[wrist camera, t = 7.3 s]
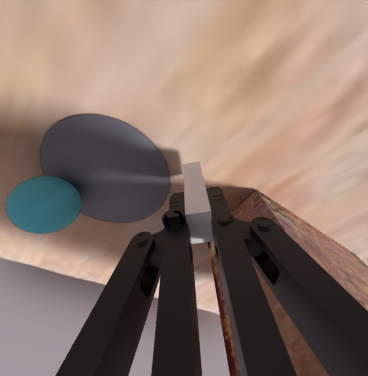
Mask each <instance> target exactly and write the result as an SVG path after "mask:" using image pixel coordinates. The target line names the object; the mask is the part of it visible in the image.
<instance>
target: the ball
mask: <svg viewBox="0 0 368 376" xmlns="http://www.w3.org/2000/svg"><path fill="white" fill-rule="evenodd" d="M80 209H81V197H80V194H79V192H78V191H77V189H76V188H75V187H74V186H73V185H72V184H71V183H69V182H68V181H66V180H64V179H61V178H58V177H53V176H40V177H35V178H31V179H28V180H26V181H24V182H22V183H20V184H19V185H17V186H16V187H15V188H14V189H13V190H12V191H11V193H10V194H9V196H8V198H7V201H6V212H7V216H8V217H9V219H10V221H11V222H12V223H13V224H14V225H15V226H17V227H18V228H20V229H22V230H24V231H27V232H30V233H37V234H44V233H52V232H55V231H58V230H61V229H63V228H65V227H66V226H68V225H69V224H71V223H72V222H73V221H74V220H75V219H76V217H77V216H78V214H79V212H80Z"/></svg>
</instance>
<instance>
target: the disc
mask: <svg viewBox="0 0 368 376" xmlns="http://www.w3.org/2000/svg"><path fill="white" fill-rule="evenodd" d="M40 162H41V167H42V170H43V173H44V176H53V177H58V178H61V179H64V180H66V181H68V182H69V183H71V184H72V185H73V186H74V187H75V188H76V189H77V191H78V192H79V194H80V197H81V209H80V212H81V213H83V214H85V215H87V216H89V217H92V218H95V219H98V220H102V221H107V222H114V223H127V222H134V221H138V220H141V219H144V218H146V217H148V216H150V215H152V214H153V213H154V212H156V211H157V210H158V209H159V208H160V207H161V206H162V204H163V203H164V201H165V199H166V197H167V194H168V191H169V184H170V183H169V172H168V168H167V165H166V162H165V160H164V158H163V156H162V154H161V153H160V151H159V150H158V148H157V147H156V146H155V145H154V143H153V142H152V141H151V140H150V139H149V138H148V137H147V136H146V135H144V134H143V133H142V132H140V131H139V130H138V129H136V128H135V127H133V126H131V125H129V124H128V123H125V122H123V121H121V120H118V119H115V118H112V117H109V116H103V115H97V114H84V115H76V116H73V117H69V118H66V119H64V120H62V121H60V122H58V123H57V124H56V125H54V126H53V127H52V128H51V129H50V130H49V131H48V132H47V134H46V135H45V137H44V139H43V142H42V144H41V149H40Z"/></svg>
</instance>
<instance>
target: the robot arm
mask: <svg viewBox="0 0 368 376" xmlns="http://www.w3.org/2000/svg"><path fill="white" fill-rule="evenodd" d="M183 175H184V192H181V193H174V194H172V196H171V197H170V204H169V211H167V212H165V214H164V215H163V216H162V221H163V224H164V227H165V228H164V229H163V230H162V231H160V232H158V233H155V234H153V235H152V234H151V233H149V232H141V233H138V234H137V235H135V236H134V237H133V238H132V240H131V241H130V243H129V245H128V247H127V249H126V250H125V252H124V254H123V256H122V258H121V259H120V261H119V263H118V265H117V267H116V268H115V270H114V272H113V274H112V275H111V277H110V279H109V281H108V283H107V284H106V286H105V288H104V290H103V292H102V293H101V295H100V297H99V299H98V301H97V302H96V304H95V306H94V308H93V309H92V311H91V313H90V315H89V317H88V319H87V320H86V322H85V324H84V326H83V328H82V329H81V331H80V333H79V335H78V337H77V338H76V340H75V342H74V344H73V345H72V347H71V349H70V351H69V353H68V354H67V356H66V358H65V360H64V361H63V363H62V365H61V367H60V369H59V370H58V372H57V374H56V376H128V374H129V371H130V368H131V365H132V362H133V359H134V356H135V352H136V350H137V347H138V344H139V340H140V337H141V334H142V331H143V328H144V325H145V321H146V319H147V315H148V312H149V309H150V306H151V303H152V300H153V297H154V294H155V291H156V288H157V284H158V281H159V278H160V287H159V298H158V309H157V320H156V331H155V341H154V352H153V364H152V374H151V376H202V369H201V356H200V342H199V330H198V317H197V304H196V291H195V279H194V266H193V253H192V247H191V244H195V243H204V242H212V241H214V245H215V256H216V257H217V262H218V267H219V272H220V277H221V282H222V287H223V291H224V296H225V301H226V306H227V311H228V316H229V321H230V326H231V331H232V336H233V340H234V345H235V350H236V355H237V360H238V365H239V370H240V375H241V376H297V374H296V372H295V369H294V366H293V364H292V361H291V359H290V356H289V354H288V351H287V349H286V346H285V344H284V341H283V339H282V336H281V333H280V331H279V328H278V326H277V323H276V321H275V318H274V316H273V313H272V311H271V308H270V306H269V303H268V300H267V298H266V295H265V293H264V290H263V288H262V285H261V283H260V280H259V278H258V275H257V273H256V270H255V268H254V265H255V267H256V268H257V270H258V271H259V273H260V274H261V276H262V277H263V279H264V280H265V282H266V283H267V284H268V286H269V287H270V289H271V290H272V292H273V293H274V295H275V296H276V298H277V299H278V301H279V302H280V304H281V305H282V307H283V308H284V310H285V311H286V313H287V314H288V316H289V317H290V318H291V320H292V321H293V323H294V324H295V326H296V327H297V329H298V330H299V332H300V333H301V335H302V336H303V338H304V339H305V341H306V342H307V344H308V345H309V347H310V348H311V350H312V351H313V352H314V354H315V355H316V357H317V358H318V360H319V361H320V363H321V364H322V366H323V367H324V369H325V370H326V372H327V373H328V375H329V376H368V311H367V310H366V309H365V308H364V307H363V306H362V305H361V304H360V303H359V302H358V301H357V300H356V299H355V298H354V297H353V296H352V295H351V294H350V293H349V292H348V291H347V290H345V289H344V288H343V287H342V286H341V285H340V284H339V283H338V282H337V281H336V280H335V279H334V278H333V277H332V276H331V275H330V274H329V273H328V272H327V271H326V270H325V269H324V268H323V267H321V266H320V265H319V264H318V263H317V262H316V261H315V260H314V259H313V258H312V257H311V256H310V255H309V254H308V253H307V252H306V251H305V250H304V249H303V248H302V247H301V246H300V245H298V244H297V243H296V242H295V241H294V240H293V239H292V238H291V237H290V236H289V235H288V234H287V233H286V232H285V231H284V230H283V229H282V228H281V227H280V226H279V225H278V224H277V223H275V222H274V221H273V220H272V219H270V218H267V217H256V218H254V219H252V221H251V222H248V221H241V220H238V219H236V218H234V216H232V215H231V213H230V210H229V208H228V205H227V202H226V200H225V197H224V195H223V192H222V190H221V189H220V188H218V187H213V188H206V187H205V183H204V179H203V175H202V171H201V166H200V162H194V163H187V164H183ZM253 264H254V265H253ZM160 275H161V277H160Z"/></svg>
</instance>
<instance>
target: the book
mask: <svg viewBox="0 0 368 376" xmlns="http://www.w3.org/2000/svg"><path fill="white" fill-rule="evenodd" d="M231 215H232V216H234V218H236V219H238V220H241V221H248V222H251V221H252V219H254V218H256V217H267V218H270V219H272V220H273V221H274V222H275V223H277V224H278V225H279V226H280V227H281V228H282V229H283V230H284V231H285V232H286V233H287V234H288V235H289V236H290V237H291V238H292V239H293V240H294V241H295V242H296V243H297V244H298V245H300V246H301V247H302V248H303V249H304V250H305V251H306V252H307V253H308V254H309V255H310V256H311V257H312V258H313V259H314V260H315V261H316V262H317V263H318V264H319V265H320V266H321V267H323V268H324V269H325V270H326V271H327V272H328V273H329V274H330V275H331V276H332V277H333V278H334V279H335V280H336V281H337V282H338V283H339V284H340V285H341V286H342V287H343V288H344V289H345V290H347V291H348V292H349V293H350V294H351V295H352V296H353V297H354V298H355V299H356V300H357V301H358V302H359V303H360V304H361V305H362V306H363V307H364V308H365V309H366V310H367V311H368V266H367V265H366V264H365V263H364V262H363V261H362V260H361V259H360V258H359V257H357V256H356V255H355V254H354V253H352V252H351V251H349V250H348V249H346V248H344V247H343V246H341V245H340V244H338V243H337V242H335V241H334V240H332V239H331V238H329V237H328V236H326V235H325V234H323V233H322V232H320V231H319V230H317V229H316V228H314V227H313V226H311V225H309V224H308V223H306V222H305V221H303V220H302V219H300V218H299V217H297V216H296V215H294V214H293V213H291V212H290V211H288V210H287V209H285V208H284V207H282V206H281V205H279V204H277V203H276V202H274V201H273V200H271V199H270V198H268V197H267V196H265V195H264V194H262V193H261V192H259V191H258V190H256V191H255V192H253V193H252V194H251V195H250V196H249V197H248V198H247V199H246V200H244V201H243V202H242V203H241V204H240V205H239V206H238V207H237V208H236V209H234V210H233V211H232V212H231ZM208 246H209V252H210V258H211V264H212V270H213V276H214V282H215V288H216V294H217V300H218V306H219V312H220V318H221V324H222V330H223V336H224V342H225V348H226V354H227V360H228V366H229V372H230V376H241V375H240V370H239V365H238V360H237V355H236V350H235V345H234V340H233V336H232V331H231V326H230V321H229V316H228V311H227V306H226V301H225V296H224V291H223V287H222V282H221V277H220V272H219V267H218V262H217V257H216V256H215V245H214V241H212V242H208ZM253 265H254V264H253ZM254 268H255V270H256V273H257V275H258V278H259V280H260V283H261V285H262V288H263V290H264V293H265V295H266V298H267V300H268V303H269V306H270V308H271V311H272V313H273V316H274V318H275V321H276V323H277V326H278V328H279V331H280V333H281V336H282V339H283V341H284V344H285V346H286V349H287V351H288V354H289V356H290V359H291V361H292V364H293V366H294V369H295V372H296V374H297V376H329V375H328V373H327V372H326V370H325V369H324V367H323V366H322V364H321V363H320V361H319V360H318V358H317V357H316V355H315V354H314V352H313V351H312V350H311V348H310V347H309V345H308V344H307V342H306V341H305V339H304V338H303V336H302V335H301V333H300V332H299V330H298V329H297V327H296V326H295V324H294V323H293V321H292V320H291V318H290V317H289V316H288V314H287V313H286V311H285V310H284V308H283V307H282V305H281V304H280V302H279V301H278V299H277V298H276V296H275V295H274V293H273V292H272V290H271V289H270V287H269V286H268V284H267V283H266V282H265V280H264V279H263V277H262V276H261V274H260V273H259V271H258V270H257V268H256V267H255V265H254Z"/></svg>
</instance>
